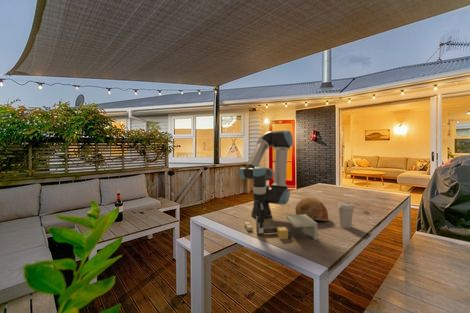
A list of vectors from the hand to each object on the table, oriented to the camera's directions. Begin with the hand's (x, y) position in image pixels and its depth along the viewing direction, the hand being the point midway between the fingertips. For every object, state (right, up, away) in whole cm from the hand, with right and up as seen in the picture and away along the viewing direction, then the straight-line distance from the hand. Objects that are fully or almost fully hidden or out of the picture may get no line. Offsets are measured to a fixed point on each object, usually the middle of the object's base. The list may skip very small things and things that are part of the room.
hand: (260, 231), depth 136 cm
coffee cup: (+57, -1, +10) cm, 58 cm away
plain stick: (-7, -2, +10) cm, 12 cm away
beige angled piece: (+24, -2, -1) cm, 24 cm away
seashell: (+39, 0, +25) cm, 47 cm away
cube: (+13, -2, -4) cm, 13 cm away
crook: (+8, -1, -2) cm, 8 cm away
